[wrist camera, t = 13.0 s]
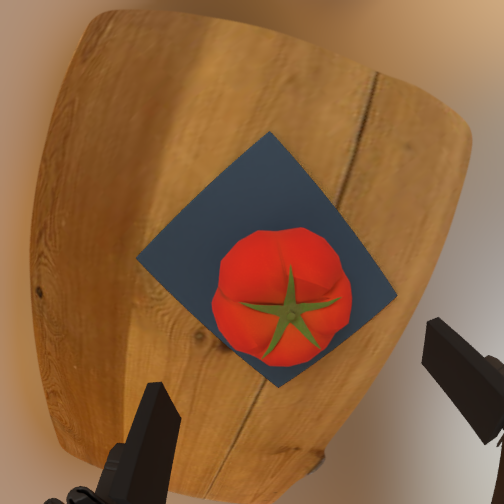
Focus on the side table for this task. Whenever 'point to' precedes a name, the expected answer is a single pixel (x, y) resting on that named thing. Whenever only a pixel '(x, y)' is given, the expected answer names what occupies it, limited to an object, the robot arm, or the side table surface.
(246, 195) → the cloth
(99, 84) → the side table surface
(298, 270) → the tomato
